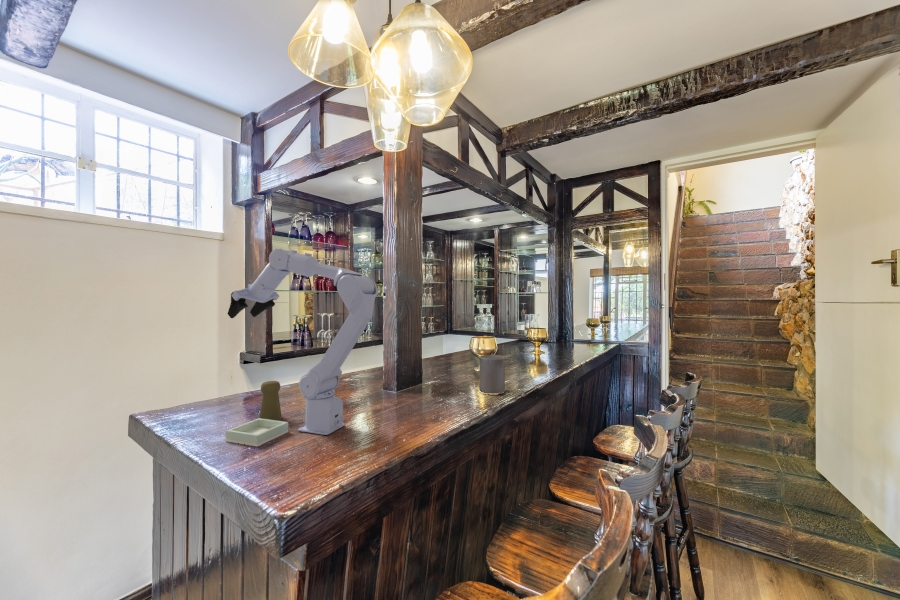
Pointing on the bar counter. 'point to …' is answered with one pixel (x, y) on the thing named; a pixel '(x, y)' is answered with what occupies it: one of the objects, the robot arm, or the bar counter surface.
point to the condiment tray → (256, 432)
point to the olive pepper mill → (270, 401)
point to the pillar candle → (492, 373)
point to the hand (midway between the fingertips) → (241, 315)
